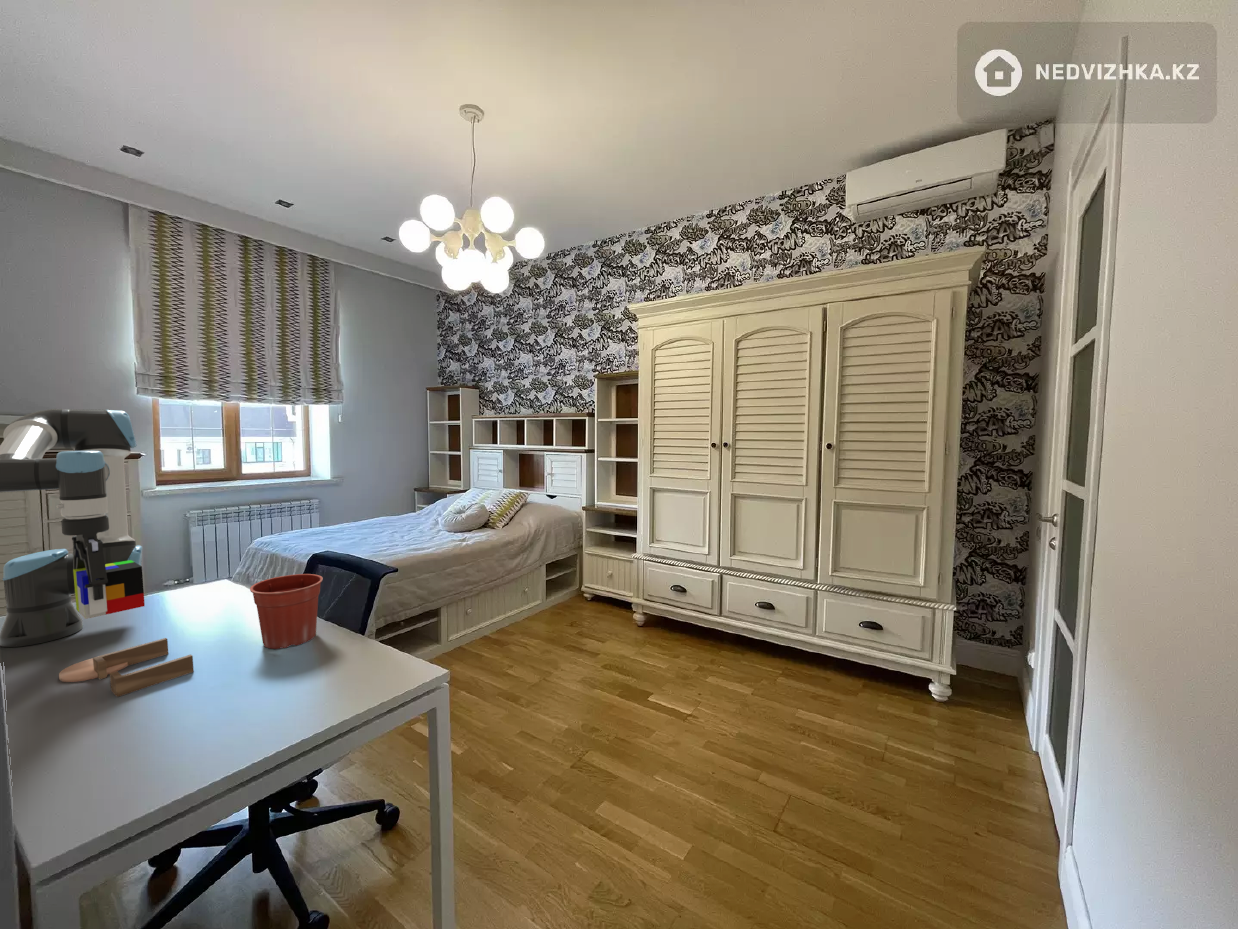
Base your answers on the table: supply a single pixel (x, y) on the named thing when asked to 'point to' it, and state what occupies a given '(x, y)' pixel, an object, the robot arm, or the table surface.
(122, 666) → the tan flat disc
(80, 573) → the puzzle toy
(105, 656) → the pocket frame
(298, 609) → the flower pot
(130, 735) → the table surface
